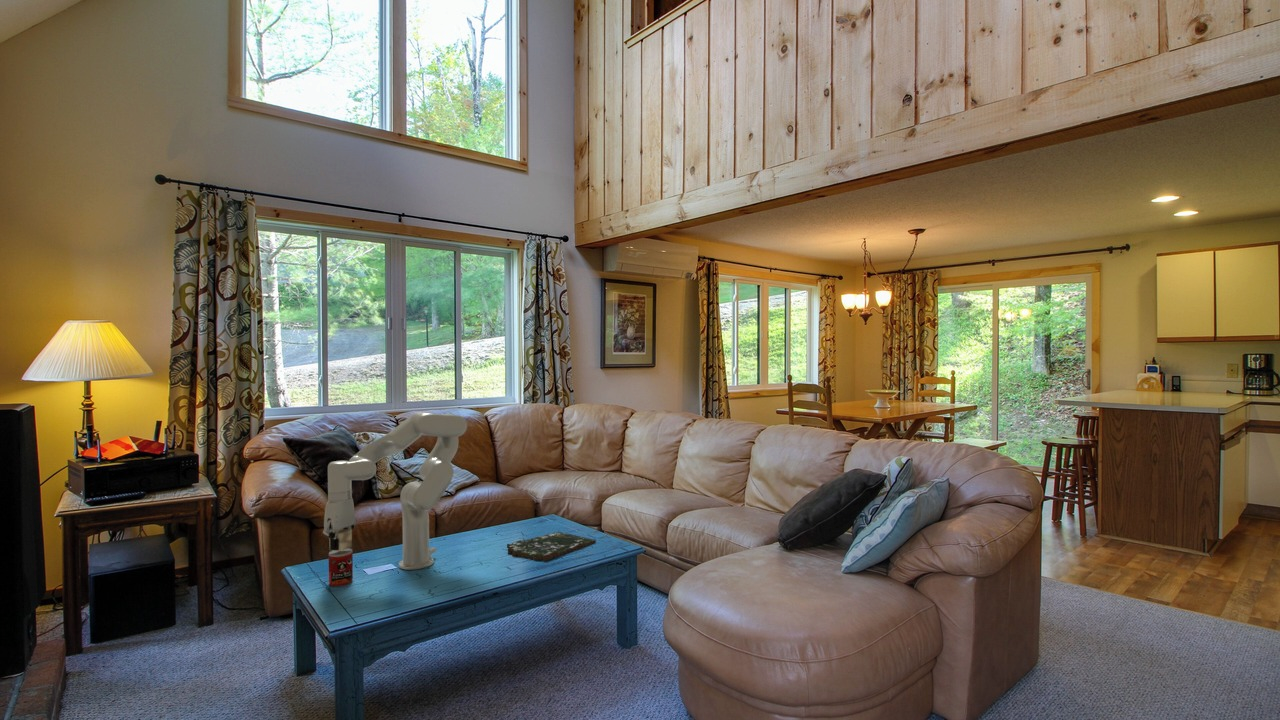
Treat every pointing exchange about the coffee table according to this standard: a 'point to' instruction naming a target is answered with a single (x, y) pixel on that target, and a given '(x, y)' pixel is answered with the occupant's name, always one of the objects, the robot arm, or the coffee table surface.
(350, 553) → the canned food
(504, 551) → the coffee table surface
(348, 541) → the beech block
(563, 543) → the topographical map
